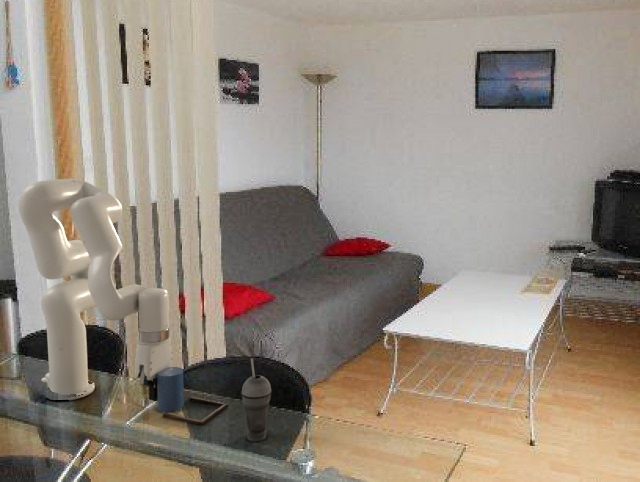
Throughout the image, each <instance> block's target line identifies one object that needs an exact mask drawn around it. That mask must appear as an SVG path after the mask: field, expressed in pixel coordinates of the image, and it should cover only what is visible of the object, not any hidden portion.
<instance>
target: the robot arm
mask: <svg viewBox="0 0 640 482" xmlns="http://www.w3.org/2000/svg"><path fill="white" fill-rule="evenodd" d="M65 210H69V214H70V218H71V220H72V222H73V224H74V225H73V226H74V227H75V230H76V231H77V233H78V235H79V237H80V239H73V240H68V239H67V235H66V232H65V228H64V226H63V224H62V223H61V221H60V220H59V219H58V218H57V217H56V215H54V214H53V213H55V212H58V211H65ZM18 211H19V215H20V218H21V220H22V223H23V225H24V227H25V229H26V231H27V234H28V237H29V238H28V239H29V242H30V245H31V250H32V252H33V257H34V261H35V263H36V267H37V270H38V272H39V274H40V275H41V277H43V278H44V279H46V280H58V279H59V280H60V279H63V278H66V277H69V278H70V280H66V281H64V282H60V283H57V284H54V285H52V286H51V287H49V288H47V290H45V292H44V293H43V294H42V296H41V300H40V305H41V310H42V314H43V316H44V317H43V318H44V321H45V327H46V339H47V341H46V342H47V355H48V356H47V357H48V359H47V360H48V372H46V373H45V375H44V377H42V378H41V380H40V381H41V383H44V384H47V385H46V386H47V388H48V387H49V388H50V390H51V391H52V392H55V393H58V394H61V395H70V394H76V395H77V396H76V397H71V398H65V399H68V400H69V401H73V400H78V399H80V398H81V399H82V398H84V397H86V396H89V395H90V394H92V393H93V392H94V391H95V389H96V388H95V382H93V383H92V384H89V383H88V381H89V369H88V345H87V344H88V343H87V328H86V325H85V323H84V321H83V319H82V318H81V316H80V314H82V313H83V312H86V311H88V310H91V309H93V308H95V307H96V309H97V311H98V312H99V313H100V315H101V316H102V317H103V318H105V319H106V320H108V321H119V320H122V319H124V318H127V317H128V316H131V315H134V314H137V313H138V334H139V337H138V338H139V339H138V340H139V341H138V342H137V344H136V349H135V357H134V358H135V359H134V377H135V379H139V386H144V387H145V386H146V387H148V400H150V401H154V402H158V397H157V372H159V371H161V370H163V369H165V368H167V367H173V365H174V364H173V361H174V359H173V358H174V357H173V345H172V340H171V336H170V296H169V292H168V291H167V289H165V288H161V287H153V288H151V287H148V286H144V285H141V284H129V285H127V286H124V287H121V288H118V289H117V288H116V286H115V283H114V280H113V277H112V276H113V275H112V269H113V264H114V262H115V260H116V259H117V257H118V256H119V254H121V252H122V250H123V244H122V242H121V240H120V237H119V235H118V234H117V231H116V229H115V227H114V225H113V224H116V223H117V222H119V221H120V220H121V218H122V216H123V207H122V203H120V201H119V200H118V199H117V198H116V197H115V196H114V195H113V194H111V193H109V192H107V191H105V190H103V189H101V188H100V187H98V186H96V185H94V184H91V183H90V182H87V181H86V180H83V179H80V178H59V179H47V180H41V181H40V180H39V181H36V182H33V183H31V184H30V185H28V186H27V187H25V188H24V189H23V191H22V192H21V193H20V195H19V198H18ZM81 394H83V395H81ZM78 395H80V396H78Z"/></svg>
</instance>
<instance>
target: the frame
mask: <svg viewBox="0 0 640 482" xmlns="http://www.w3.org/2000/svg"><path fill="white" fill-rule="evenodd" d="M205 399H206V398H201V397H196V396H190V397H189V401H191V402H197V403H202V404H208V405H214V406H218V408H216V409H214V411H212V412H211V413H209V414H208V415H206V416H205V417H203V418H201V419H196V418H190V417H186V416H180V415H175V414H172V413H171V414H170V413H167V412H163V413H162V418H166V419H168V420H169V419H170V420H175V421H179V422H184V423H188V424H193V425H198V426H203V425H204V424H205V423H207V422H208V421H209V420H211V419H212V418H214V417H215V416H216V415H217V414H219V413H221V412H222V411H223V410H225V409H227V408H228V407H229V404H228V405H227V404H226V405H225V404H223V403H224V402H223V403H220V402H221V401H218V402H213V401H214V400H212V401H210V400H211V399H207V400H205Z"/></svg>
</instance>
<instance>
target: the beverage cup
mask: <svg viewBox="0 0 640 482" xmlns="http://www.w3.org/2000/svg"><path fill="white" fill-rule="evenodd" d="M250 365H251V373H252V376H250V377H248V378H247V379H246V380H245V381H244V383H243V385H242V387H241V391H240V395H241V399H242V403H243V409H244V411H243V412H244V420H245V421H244V422H245V431H246V437H247V440H248V441H250V442H260V441H263V440H265V439H266V438H267V430H268V421H269V411H270V401H271V397H272V393H273V392H272V388H271V387H272V386H271V383H270V382H269V380H268V379H267V378H266V377H265V376H263V375H260V374H256V373H255V367H254V357H253V358H250Z"/></svg>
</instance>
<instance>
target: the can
mask: <svg viewBox="0 0 640 482" xmlns="http://www.w3.org/2000/svg"><path fill="white" fill-rule="evenodd" d="M157 397H158V401H157V410H158V411H159V412H162V413H172V412H176V411H179V410H181V409H183V408H184V405H185V395H184V369H183V367H179V366H172V367H167V368H165V369H163V370H161V371H159V372H157Z"/></svg>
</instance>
